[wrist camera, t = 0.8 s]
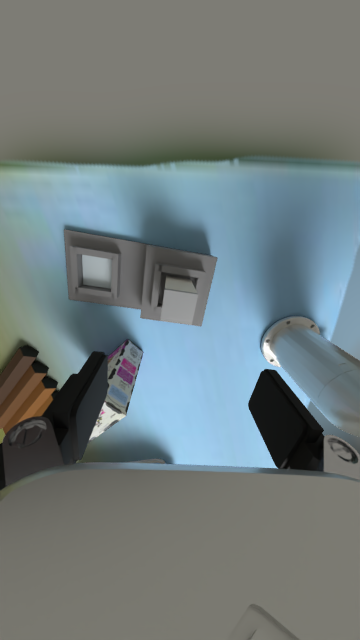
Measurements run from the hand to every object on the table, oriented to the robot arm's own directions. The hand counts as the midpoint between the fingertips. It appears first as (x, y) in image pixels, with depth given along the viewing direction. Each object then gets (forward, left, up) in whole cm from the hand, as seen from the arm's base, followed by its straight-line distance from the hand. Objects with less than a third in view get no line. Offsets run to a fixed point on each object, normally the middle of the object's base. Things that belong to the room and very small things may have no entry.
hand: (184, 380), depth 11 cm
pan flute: (+26, +35, -27) cm, 51 cm away
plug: (0, 0, -22) cm, 22 cm away
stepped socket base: (+7, 0, -27) cm, 27 cm away
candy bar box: (+10, +19, -27) cm, 34 cm away
